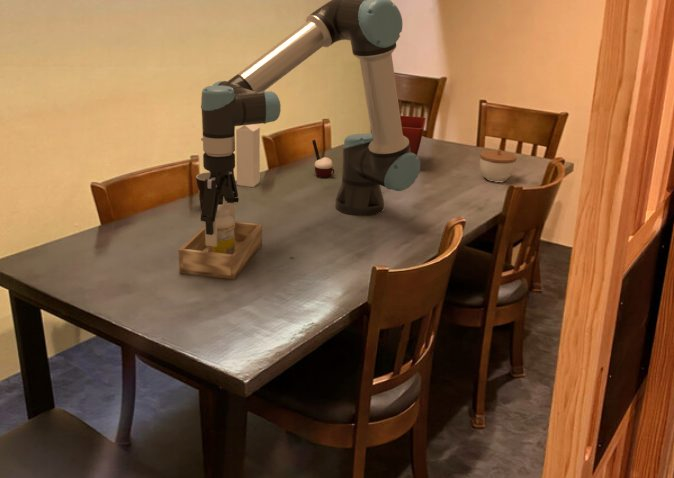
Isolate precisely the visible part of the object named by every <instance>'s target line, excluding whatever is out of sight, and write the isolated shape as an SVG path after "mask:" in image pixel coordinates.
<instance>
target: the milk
mask: <svg viewBox="0 0 674 478" xmlns="http://www.w3.org/2000/svg"><path fill="white" fill-rule="evenodd" d="M260 129H261V128H260V127H259V125H258V124H252V125H242V126H239V128H236V129H235V151H236V154H235V155H236V186H241V187H247V188H248V187H250V188H254V187H255V186H256V185H258V184H259V183H260V181H261V179H260V178H261V177H260V176H261V175H260V173H261V171H260V166H261V165H260V161H261V160H260V159H261V158H260V157H261V156H260V155H261V154H260V146H261V145H260V143H261V142H260V140H261V139H260V137H261V136H260V134H261V133H260V131H261V130H260Z"/></svg>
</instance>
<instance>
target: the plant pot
mask: <svg viewBox="0 0 674 478" xmlns="http://www.w3.org/2000/svg"><path fill="white" fill-rule="evenodd" d="M400 119H401V126H402V133H403V136H405V137H407V138H408V140H409V144H410V151H411V153H414V154H415V155H416V156H418V153H419V150H420V146H421V143H422V142H421V141H422V138H423V134H424V130H425V125H426V119H427V118H426V117H425V116H424V117H423V116H412V115H411V116H409V115H400ZM369 128H370V130H371V127H369Z"/></svg>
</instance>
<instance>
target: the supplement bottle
mask: <svg viewBox="0 0 674 478" xmlns="http://www.w3.org/2000/svg"><path fill="white" fill-rule="evenodd" d="M229 214H230V207H229V206H227V205H224V204H223V205H218V208H217V213H216V217H215V220H217V247H213V246H208V252H215V253H223V254H233V253H234V252H235V237H234V219H233V217H232V216H230V215H229Z"/></svg>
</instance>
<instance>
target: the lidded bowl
mask: <svg viewBox="0 0 674 478" xmlns="http://www.w3.org/2000/svg"><path fill="white" fill-rule="evenodd" d="M516 161H517V156H516V154H513V153H512V152H508V151H504V150H502V149H497V150H484V151H482V152H480V155H479V170H480V173H481V175H482V176H483V177H484V179H485V178H486V179H489V180H493V181H504V180H505V181H506V180H507V179H509V178H511V176H512V175H513V172H514V170H515V167H516ZM486 179H485V180H486Z"/></svg>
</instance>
